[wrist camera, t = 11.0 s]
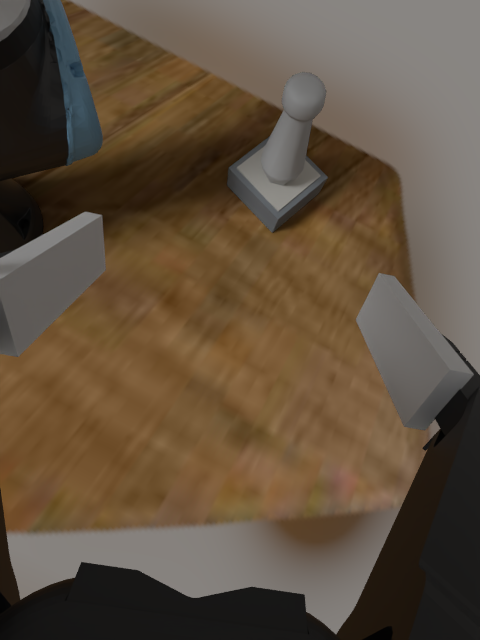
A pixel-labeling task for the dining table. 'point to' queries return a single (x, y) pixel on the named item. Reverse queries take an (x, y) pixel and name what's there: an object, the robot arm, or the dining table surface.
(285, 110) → the salt shaker
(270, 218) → the slate plinth
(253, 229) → the dining table surface
